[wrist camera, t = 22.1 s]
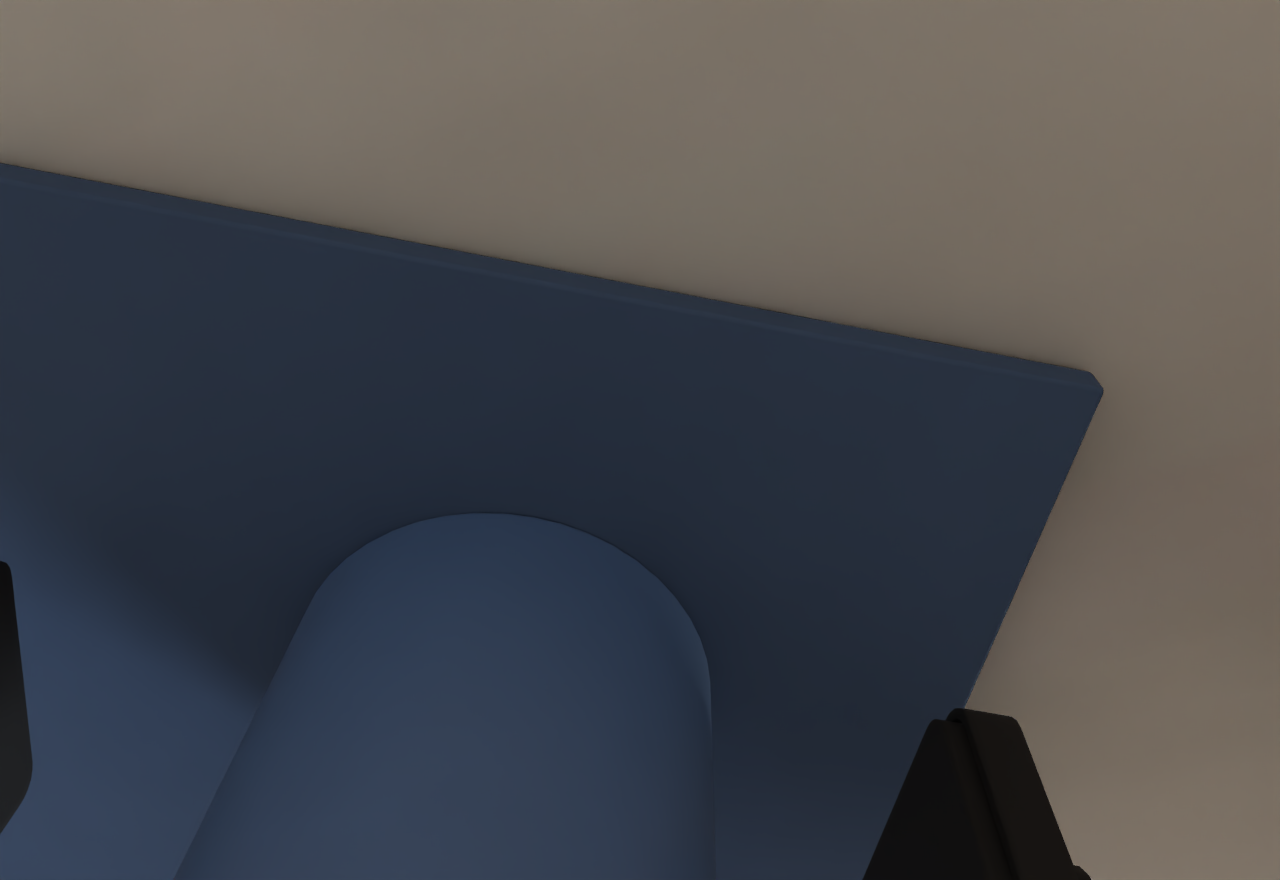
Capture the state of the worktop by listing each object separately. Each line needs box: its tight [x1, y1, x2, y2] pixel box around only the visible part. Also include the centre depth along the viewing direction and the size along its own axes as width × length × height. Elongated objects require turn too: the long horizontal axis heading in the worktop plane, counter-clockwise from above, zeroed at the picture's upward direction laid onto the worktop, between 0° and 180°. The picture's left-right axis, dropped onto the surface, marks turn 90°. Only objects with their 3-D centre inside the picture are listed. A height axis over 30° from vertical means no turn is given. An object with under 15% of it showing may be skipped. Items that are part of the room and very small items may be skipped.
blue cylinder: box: [173, 513, 716, 880], centre depth 9 cm, size 4×4×5 cm
